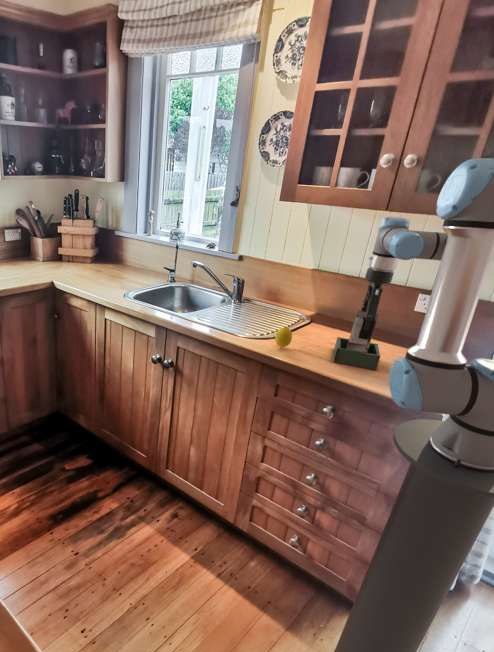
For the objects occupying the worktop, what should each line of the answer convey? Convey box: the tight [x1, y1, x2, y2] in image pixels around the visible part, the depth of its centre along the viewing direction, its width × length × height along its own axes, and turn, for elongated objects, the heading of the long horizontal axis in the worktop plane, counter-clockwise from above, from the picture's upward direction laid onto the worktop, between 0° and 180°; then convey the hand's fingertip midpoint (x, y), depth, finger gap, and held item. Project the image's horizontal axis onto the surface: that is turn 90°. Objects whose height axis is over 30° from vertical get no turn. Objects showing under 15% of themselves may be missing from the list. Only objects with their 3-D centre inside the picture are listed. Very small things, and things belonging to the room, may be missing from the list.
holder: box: [333, 336, 381, 371], centre depth 159 cm, size 12×13×5 cm
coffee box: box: [346, 310, 379, 353], centre depth 156 cm, size 9×6×16 cm
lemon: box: [274, 326, 293, 349], centre depth 164 cm, size 6×6×8 cm
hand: (362, 332), depth 155 cm, fingers open, 13 cm apart
